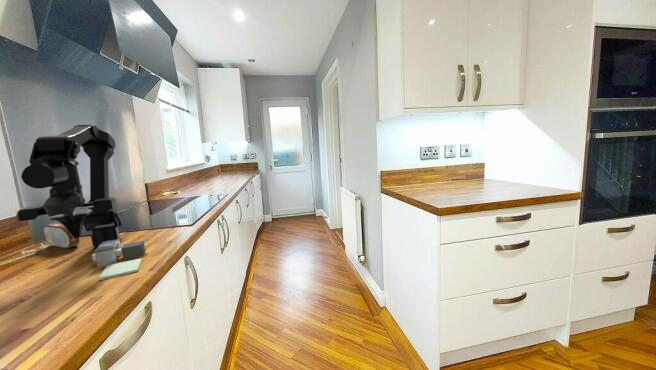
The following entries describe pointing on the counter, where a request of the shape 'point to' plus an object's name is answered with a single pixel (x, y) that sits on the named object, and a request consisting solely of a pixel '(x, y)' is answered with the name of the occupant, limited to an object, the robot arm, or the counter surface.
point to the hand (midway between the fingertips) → (77, 237)
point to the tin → (59, 236)
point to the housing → (107, 252)
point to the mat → (120, 269)
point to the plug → (129, 250)
